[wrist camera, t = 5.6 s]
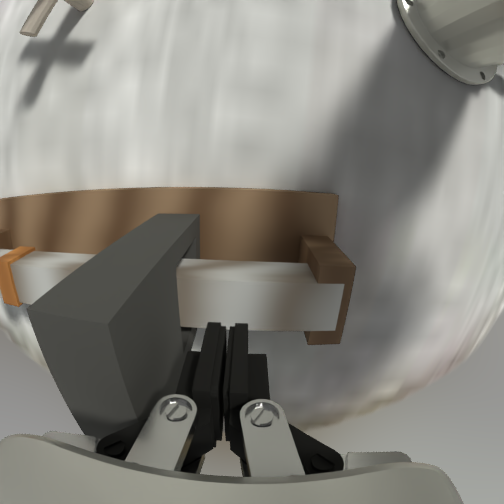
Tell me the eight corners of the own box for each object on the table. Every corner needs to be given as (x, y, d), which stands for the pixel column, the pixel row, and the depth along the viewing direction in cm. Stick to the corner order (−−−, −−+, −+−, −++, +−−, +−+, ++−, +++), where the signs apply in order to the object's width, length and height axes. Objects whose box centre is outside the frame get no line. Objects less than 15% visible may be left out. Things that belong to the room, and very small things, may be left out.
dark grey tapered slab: (199, 214, 19) (107, 324, 6) (202, 311, 21) (159, 469, 8) (158, 213, 19) (26, 308, 6) (165, 309, 21) (97, 453, 8)
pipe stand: (334, 193, 20) (374, 212, 13) (317, 323, 23) (338, 380, 16) (0, 198, 19) (-49, 215, 12) (17, 296, 23) (-21, 327, 16)
